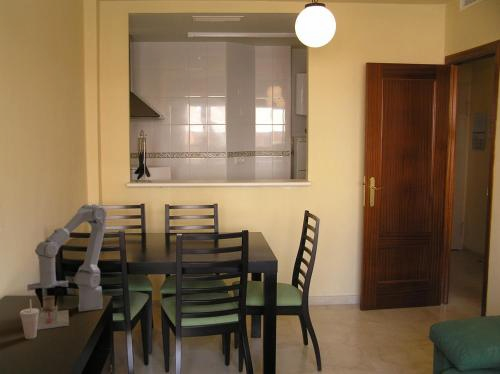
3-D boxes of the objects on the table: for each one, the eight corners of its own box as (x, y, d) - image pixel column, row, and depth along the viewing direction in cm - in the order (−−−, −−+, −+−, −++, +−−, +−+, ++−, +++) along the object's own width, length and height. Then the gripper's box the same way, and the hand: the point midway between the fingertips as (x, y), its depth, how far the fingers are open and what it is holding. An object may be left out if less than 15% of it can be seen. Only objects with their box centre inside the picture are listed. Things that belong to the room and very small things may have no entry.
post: (55, 315, 184) (54, 296, 183) (55, 319, 180) (54, 299, 179) (43, 316, 182) (43, 297, 182) (43, 320, 179) (42, 300, 178)
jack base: (68, 313, 191) (68, 299, 190) (68, 325, 178) (68, 310, 177) (31, 318, 185) (30, 303, 185) (28, 331, 172) (28, 315, 172)
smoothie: (32, 341, 163) (30, 302, 162) (16, 339, 165) (15, 301, 163) (44, 334, 170) (42, 297, 168) (28, 332, 171) (27, 296, 170)
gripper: (26, 276, 173) (27, 311, 174) (67, 272, 179) (68, 306, 180) (27, 272, 180) (29, 305, 181) (67, 268, 185) (68, 301, 186)
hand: (49, 306), depth 181 cm, fingers closed on post, 4 cm apart
